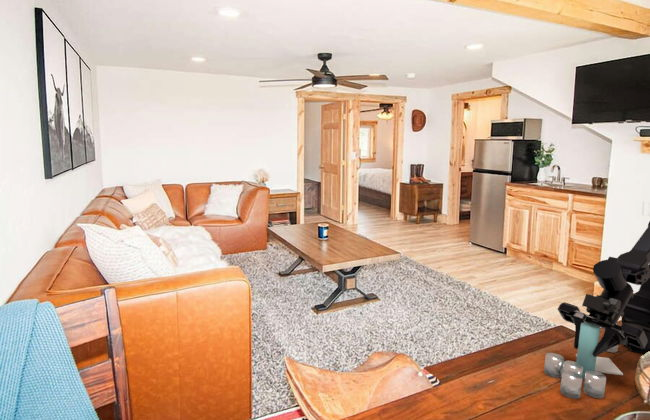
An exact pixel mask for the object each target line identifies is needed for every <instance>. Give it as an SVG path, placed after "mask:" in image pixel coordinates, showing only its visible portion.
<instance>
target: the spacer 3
mask: <svg viewBox="0 0 650 420" xmlns="http://www.w3.org/2000/svg"><path fill="white" fill-rule="evenodd" d="M606 384H607V376H606V375H605V374H604V373H600V372H597V371H592V370H588V371H586V373H585V379H584V383H583V389H582V390H583V393H584V394H585V395H587V396H589V397H591V398H595V399H603V398H604V397H605V391H606Z"/></svg>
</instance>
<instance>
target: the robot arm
mask: <svg viewBox="0 0 650 420" xmlns="http://www.w3.org/2000/svg"><path fill="white" fill-rule="evenodd" d="M592 271H593V275H595V278H596V280H597V282H598V284H599V286H600V287H601V288H602V289H603V290H602V291H601V293H600V295H599V294H597V295H593V294H588V293H585V296H584V300H583V301H582V305H581V306H582V307H585V308H586V309H585V311H586V312H587V313H589V314H586V313H584V312H583V311H581V309H580V308H579V306H577V305H575V304H571V303H568V302H565V301H564V302H562V303H560V304H559V305H558V307H557V311H558V312H559V314H560V316H561V318H562V320H564V321H566V322H568V323H571V324H574V325H575V328H574V329H575V331H574V332H575V333H574V341H573V342H574V343H573V348H574V349H575V350H578V344H579V335H580V327H581V323H592V324H595V325H597V326H599V327H600V329H603V330H604V333H603V335H602V337H601V338H600V339H599V343H598V345H597V347H596V348H595V350H594V352H593V356H594V357H596V356H597V357H599V355H601V354H603V353H605V352H607V351H606V350H608V349H610V348H612V347H614V346H617V345H618V346H619V345H622V346H624V345H625V346H626V348H628V349H629V350H630V351H631V352H633V353H641V354H647V353H646V352H648V351H650V220H649V222H648V225H647V228H646V229H645V230H644V232H643V233H642V234H641V236H640V237H639V239H638V240H637V242H635V244H634V246H633V247H632V248H631V249H630V251H626V252H624V253H620V255H618V257H614V256H608V258H607V259H604V260H600V261H598V262H596V263H595V264H593V266H592ZM631 284H633V285H635V286H636V285H637V286H640V287H639V288H638V291H636V292H635V293H634V291H635V290H634V289H633V286H632V285H631ZM620 318H621V325H619V324H618V321H619V319H620ZM616 323H617V325H616Z"/></svg>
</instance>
